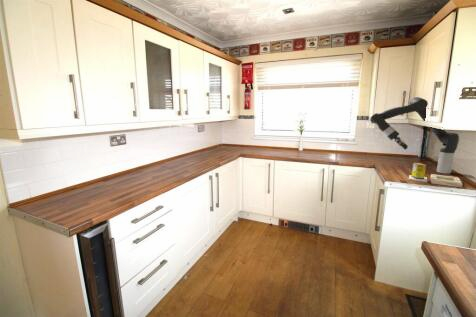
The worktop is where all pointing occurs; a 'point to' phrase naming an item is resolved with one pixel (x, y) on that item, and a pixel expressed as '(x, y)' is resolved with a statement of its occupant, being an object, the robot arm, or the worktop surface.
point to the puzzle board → (446, 180)
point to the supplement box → (418, 170)
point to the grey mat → (418, 179)
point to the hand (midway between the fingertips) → (406, 148)
